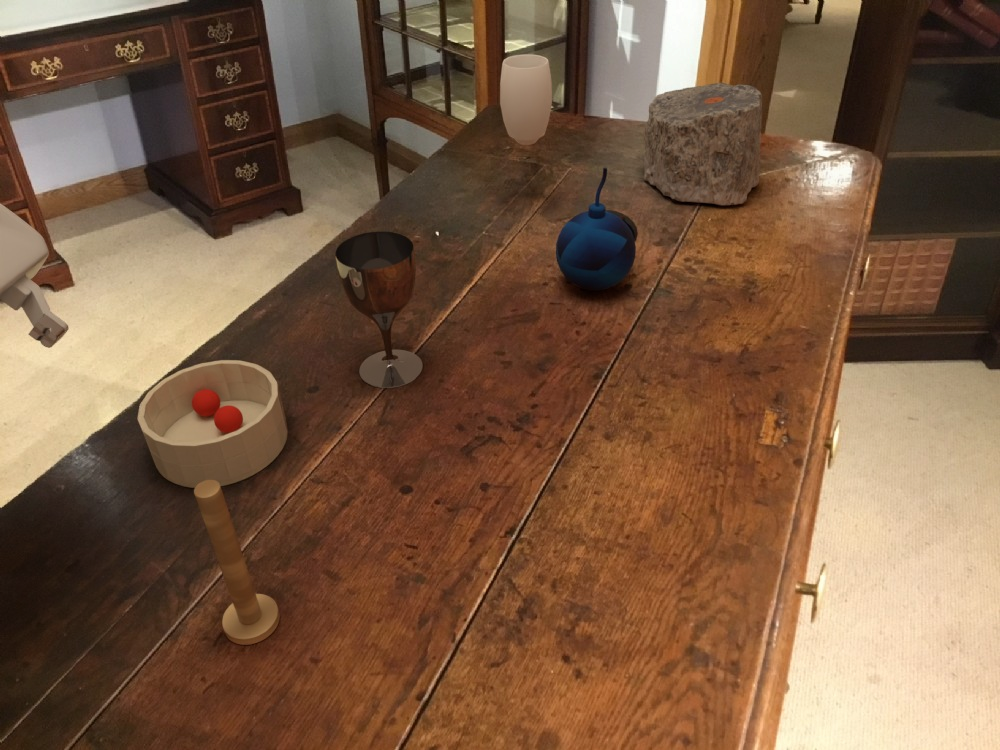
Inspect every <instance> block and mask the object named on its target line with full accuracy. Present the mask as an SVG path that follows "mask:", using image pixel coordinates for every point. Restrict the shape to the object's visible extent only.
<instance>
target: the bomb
mask: <svg viewBox="0 0 1000 750" xmlns="http://www.w3.org/2000/svg"><path fill="white" fill-rule="evenodd" d="M607 176H608V167H603V169H602V177H601V180H600V183H599V185H598V187H597V190H596V194H595V199H594V202H593V203H590V205H589V206H588V210H587V211H583V212H581V213H579V214H577V215H575V216H573V217H572V218H571V219H569V220H568V221H567V222H566V223H565V225H564V226H563V227H562V228H561V230H560V231H559V234H558V236H557V239H556V243H555V258H556V263H557V266H558V268H559V269H560V272H561V273H562V275H563V276H564V278H565V279H566V280H567V281H569V282H570V283H571V284H573V285H574V286H576V287H578V288H580V289H583V290H586V291H593V292H594V291H604V290H607V289H610V288H613V287H614V286H617V285H618V284H619V283H621V282H622V281H623V280H625V278H626V277H627V276H628V274H629V273H630V271H631V270H632V267H633V266H634V262H635V259H636V252H637V246H636V241H637V239H638V233H639V231H638V227H637V225H636V224H635V222H634V221H633V220H632V219H631V218H630V217H629V216H628V215H626V214H624V213H622V212H619V211H617V210H613V209H607V208H606V207H607V206H605V204H604V203H602V202H600V198H601V197H600V196H601V194H602V193H601V192H602V189H603V188H604V186H605V183H606V181H607Z"/></svg>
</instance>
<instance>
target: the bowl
mask: <svg viewBox="0 0 1000 750" xmlns="http://www.w3.org/2000/svg"><path fill="white" fill-rule="evenodd" d="M204 389H208V390H212V391H214V392H215V393H217V395H218V396H219V398H220V408H221V407H223V406H227V405H230V406H234V407H236V408H238V409H239V410H240V411H241V413H242V415H243V423H242V425H241V427H240V428H239V429H238V430H237V431H234V432H232V433H224V432H221V431H220V430H219V429H217V427H216V426H215V423H214V416H215V414H213V415H211V416H201V415H199V414H197V413H196V412H195V411H194V409H193V407H192V399H193V397H194V395H195V394H196V393H197V392H199V391H201V390H204ZM282 400H283V399H282V397H281V392H280V388H279V384H278V381H277V380H276V378H275V377H274V375H273V373H272V372H271V371H269V370H267V369H266V368H264V367H263V366H261V365H259V364H257V363H254V362H253V363H252V362H248V361H244V360H239V359H238V360H237V359H220V360H214V361H213V360H212V361H208V362H202V363H198V364H194V365H192V366H189V367H186V368H183V369H180V370H178V371H177V372H175V373H173V374H171V375H169V376H167V377H165V378H163V379H162V380H161V381H160V382H158V383H157V384H156V385H155V386H153V388H152V389H150V390H149V391H148V392H147V393H146V395H145V396H144V397H143V399H142V401H141V402H140V404H139V405H138V406H139V408H138V413H137V423H138V425H139V428H140V429H141V432H142V435H143V438H144V440H145V443H146V445H147V448H148V451H149V454H150V456H151V459H152V461H153V463H154V466H155V468H156V470H157V472H158V473H159V474H160V475H161V476H162V477H163V478H165V480H167V481H169V482H171V483H172V484H175V485H178V486H181V487H185V488H193V489H195V487H196V486H197V485H198V484H199V483H201V482H203V481H206V480H215V481H217V482H219V484H220V486H221V487H225V486H229V485H233V484H235V483H238V482H241V481H244V480H246V479H248V478H250V477H252V476H254V475H256V474H257V473H259V472H261V471H263V470H264V469H265V468H266V467H268V466H269V465H270V464H271V463H273V462H274V461H275V460H276V459H277V458H278V456H279V455H280V454H281V452H282V451H283V449H284V447H285V445H286V443H287V440H288V435H289V434H288V433H289V431H288V429H289V428H288V424H287V423H288V422H287V416H286V412H285V408H284V404H283V401H282ZM220 408H219V409H220Z"/></svg>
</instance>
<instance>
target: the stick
mask: <svg viewBox="0 0 1000 750" xmlns="http://www.w3.org/2000/svg"><path fill="white" fill-rule="evenodd" d="M193 494H194V498H195V501H196V504H197V506H198V508H199V511H200V514H201V518H202V520H203V523H204V525H205V528H206V531H207V534H208V537H209V540H210V543H211V546H212V548H213V551H214V555H215V557H216V559H217V563H218V565H219V568H220V571H221V574H222V576H223V579H224V582H225V585H226V588H227V590H228V594H229V597H230V599H231V602H232V603H231V604H230V605H229V606H228V607H227V608H226V610H225V611H224V613H223V616H222V620H221V625H222V630H223V631H224V635H225V636H226V638H227V639H228V640H229V641H231V642H232V643H234V644H237V645H242V646H248V645H249V646H251V645H253V644H257V643H261V642H262V641H264V640H266V639H267V638H269V636H271V635H272V634H273V633H274V632H275V630H276V629H277V627H278V626H279V622H280V618H281V616H280V615H281V614H280V609H279V607H278V603H277V602H276V601H275V599H273V598H272V597H271V596H269V595H266V594H264V593H256V591H255V588H254V585H253V581H252V579H251V575H250V572H249V569H248V567H247V563H246V560H245V557H244V554H243V551H242V548H241V544H240V542H239V538H238V536H237V533H236V530H235V526H234V523H233V520H232V517H231V514H230V511H229V508H228V504H227V502H226V499H225V496H224V492H223V490H222V486H220V484H219V482H217V481H215V480H206V481H203V482H201V483H199V484H198V485H197V486H196V487H195V488H193Z"/></svg>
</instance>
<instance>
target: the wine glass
mask: <svg viewBox="0 0 1000 750" xmlns="http://www.w3.org/2000/svg"><path fill="white" fill-rule="evenodd" d="M414 247H415V246H414V243H413V242H412V240H411V239H410V238H409V237H407V236H406V235H403V234H401V233H398V232H392V231H369V232H363V233H360V234H357V235H356V234H355V235H354V236H351V237H349V238H347V239H345V240H344V241H342V242H341V243H340V244H339V245H338V247H336V250H335V263H336V269H337V272H338V278H339V280H340V283H341V286H342V289H343V291H344V294H345V296H346V299H347V300H348V301H349V303H350V305H351V306H352V307H353V308H354V309H355V310H357V312H359V313H361V314H362V315H364V316H365V317H366V318H368V319H370V320H371V321H373V323H375V324H376V326H377V327H378V329H379V332H380V335H381V338H382V343H383V346H384V350H382V351H379V352H376V353H374V354H372V355H370V356H368V357H367V358H365V360H363V362H361V364H360V365H359V369H358V373H359V377H360V379H361V380H362V381H363V382H364V383H365V384H367V385H369V386H372V387H375V388H381V389H393V388H399V387H402V386H403V387H404V386H405V385H408V384H410V383H412V382H413V381H415V380H416V379H418V377H419V376H420V375H422V372H423V369H424V363H423V361H422V359H421V357H420V356H418V355H417V354H416V353H414V352H412V351H408V350H406V349H405V350H404V349H393V346H392V345H393V344H392V329H393V328H392V327H393V325H394V322H395V320H396V318H397V317H398V315H400V313H401V312H402V311H403V310H404V309H405V308H406V307H407V305H408V304H409V302H410V301H411V299H412V297H413V294H414V289H415V284H416V270H417V269H416V254H415V248H414Z"/></svg>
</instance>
